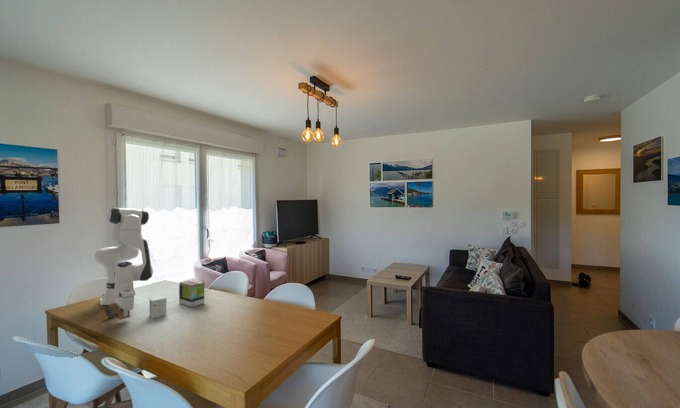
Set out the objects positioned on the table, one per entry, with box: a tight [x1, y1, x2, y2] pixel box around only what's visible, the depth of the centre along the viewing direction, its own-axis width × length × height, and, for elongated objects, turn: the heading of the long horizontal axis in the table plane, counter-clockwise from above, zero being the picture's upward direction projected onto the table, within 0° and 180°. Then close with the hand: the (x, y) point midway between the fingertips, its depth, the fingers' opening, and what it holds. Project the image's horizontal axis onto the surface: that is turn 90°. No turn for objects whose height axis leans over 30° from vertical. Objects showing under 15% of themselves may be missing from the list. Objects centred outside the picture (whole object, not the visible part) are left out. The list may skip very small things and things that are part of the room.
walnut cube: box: [117, 309, 131, 320], centre depth 166 cm, size 4×4×4 cm
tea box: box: [178, 279, 205, 308], centre depth 198 cm, size 15×10×15 cm, turn 58°
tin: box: [104, 302, 120, 319], centre depth 177 cm, size 15×3×8 cm, turn 168°
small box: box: [149, 295, 167, 319], centre depth 176 cm, size 8×6×10 cm
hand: (123, 314), depth 166 cm, fingers closed on walnut cube, 4 cm apart
